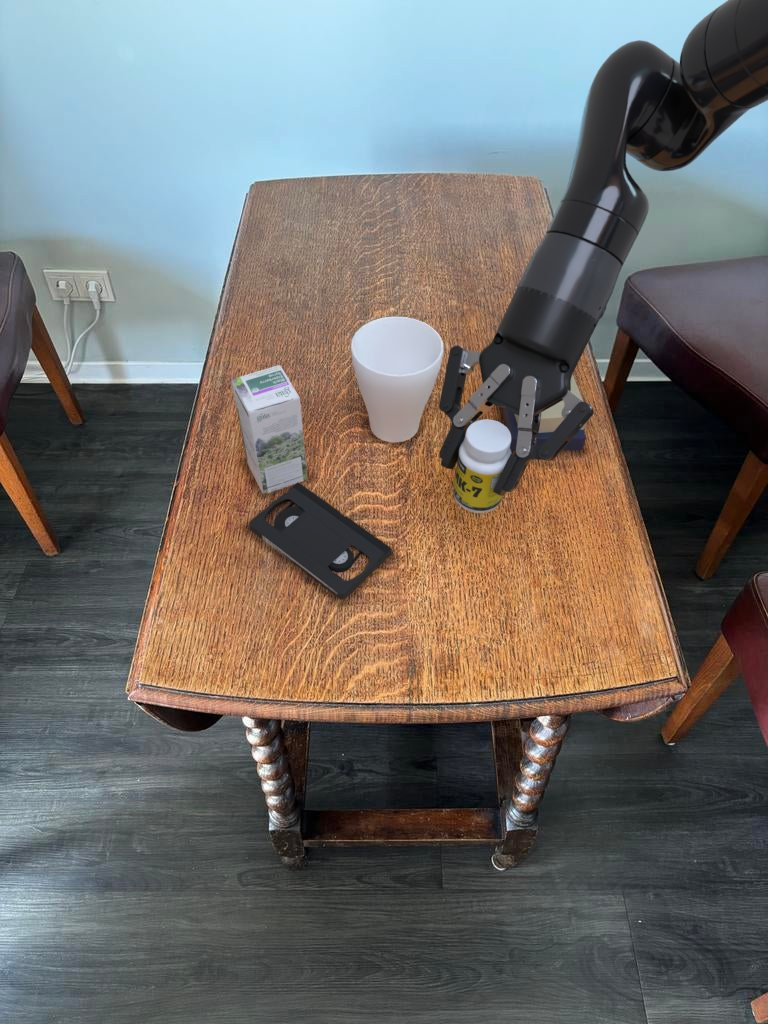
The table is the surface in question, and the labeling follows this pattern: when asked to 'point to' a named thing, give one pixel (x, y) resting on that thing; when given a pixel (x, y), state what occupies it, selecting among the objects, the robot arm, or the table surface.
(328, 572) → the vhs tape
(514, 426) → the book stack
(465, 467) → the supplement bottle
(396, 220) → the table surface
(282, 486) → the syrup box
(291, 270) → the table surface
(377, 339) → the cup
